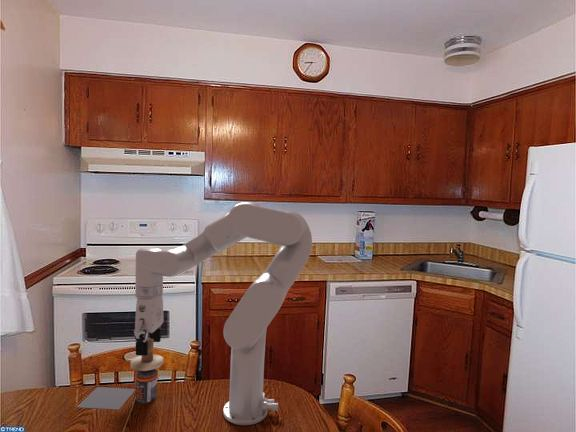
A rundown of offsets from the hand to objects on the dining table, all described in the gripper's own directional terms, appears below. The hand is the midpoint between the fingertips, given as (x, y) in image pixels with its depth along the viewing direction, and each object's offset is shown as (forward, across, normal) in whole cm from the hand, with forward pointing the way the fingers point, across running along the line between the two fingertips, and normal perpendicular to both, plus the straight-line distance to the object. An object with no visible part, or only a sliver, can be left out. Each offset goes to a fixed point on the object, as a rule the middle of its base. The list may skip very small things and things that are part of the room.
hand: (148, 348), depth 108 cm
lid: (+5, 0, 0) cm, 5 cm away
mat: (+16, -1, +12) cm, 20 cm away
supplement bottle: (+16, 0, +1) cm, 16 cm away
